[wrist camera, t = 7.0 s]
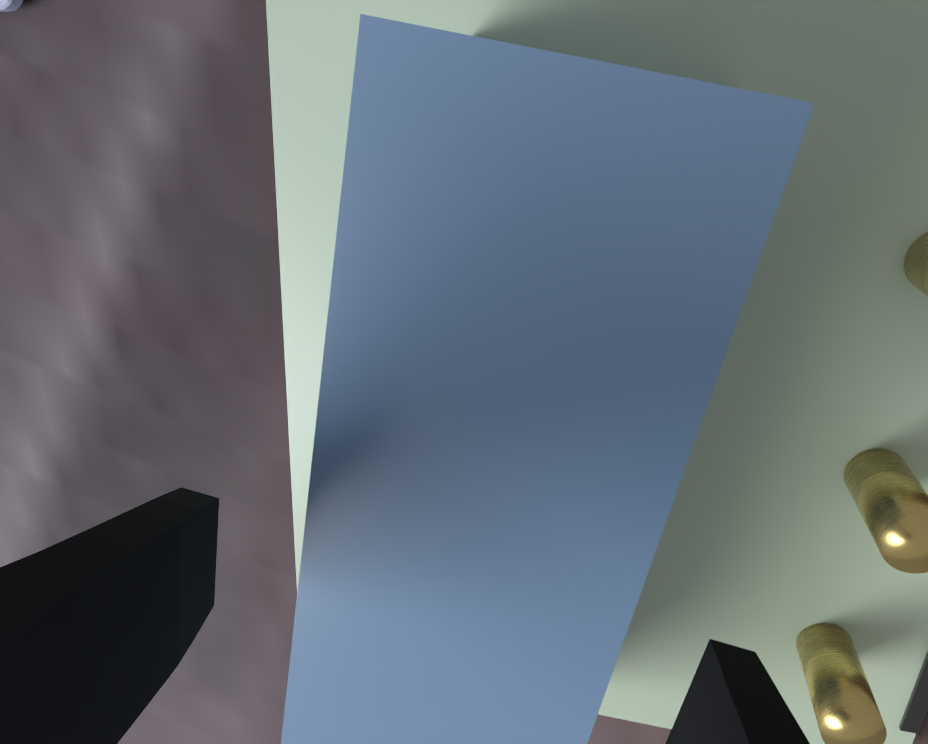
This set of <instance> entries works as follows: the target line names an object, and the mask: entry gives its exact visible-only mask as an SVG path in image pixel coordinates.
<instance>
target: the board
mask: <svg viewBox="0 0 928 744" xmlns="http://www.w3.org/2000/svg"><path fill="white" fill-rule="evenodd" d="M266 9H267V28H268V47H269V66H270V85H271V104H272V123H273V142H274V161H275V180H276V199H277V218H278V237H279V256H280V275H281V294H282V313H283V332H284V351H285V370H286V389H287V408H288V427H289V446H290V465H291V484H292V503H293V522H294V541H295V560H296V580H297V592H298V583H299V574H300V565H301V555H302V546H303V537H304V528H305V519H306V509H307V500H308V491H309V482H310V473H311V463H312V454H313V445H314V436H315V427H316V418H317V408H318V399H319V390H320V381H321V372H322V362H323V353H324V344H325V335H326V326H327V316H328V307H329V298H330V289H331V280H332V270H333V261H334V252H335V243H336V234H337V225H338V215H339V206H340V197H341V188H342V179H343V169H344V160H345V151H346V142H347V133H348V123H349V114H350V105H351V96H352V87H353V77H354V68H355V59H356V50H357V41H358V32H359V22H360V14H364V15H369V16H374V17H379V18H384V19H389V20H394V21H399V22H404V23H410V24H415V25H420V26H425V27H430V28H435V29H440V30H445V31H450V32H455V33H460V34H466V35H471V36H476V37H481V38H486V39H491V40H496V41H501V42H506V43H511V44H516V45H522V46H527V47H532V48H537V49H542V50H547V51H552V52H557V53H562V54H567V55H572V56H578V57H583V58H588V59H593V60H598V61H603V62H608V63H613V64H618V65H623V66H628V67H634V68H639V69H644V70H649V71H654V72H659V73H664V74H669V75H674V76H679V77H684V78H690V79H695V80H700V81H705V82H710V83H715V84H720V85H725V86H730V87H735V88H740V89H746V90H751V91H756V92H761V93H766V94H771V95H776V96H781V97H786V98H791V99H796V100H802V101H807V102H812V103H815V105H814V108H813V110H812V113H811V116H810V119H809V122H808V124H807V127H806V130H805V133H804V136H803V139H802V141H801V144H800V147H799V150H798V153H797V155H796V158H795V161H794V164H793V167H792V169H791V172H790V175H789V178H788V181H787V183H786V186H785V189H784V192H783V195H782V198H781V200H780V203H779V206H778V209H777V212H776V214H775V217H774V220H773V223H772V226H771V228H770V231H769V234H768V237H767V240H766V243H765V245H764V248H763V251H762V254H761V257H760V259H759V262H758V265H757V268H756V271H755V273H754V276H753V279H752V282H751V285H750V288H749V290H748V293H747V296H746V299H745V302H744V304H743V307H742V310H741V313H740V316H739V318H738V321H737V324H736V327H735V330H734V333H733V335H732V338H731V341H730V344H729V347H728V349H727V352H726V355H725V358H724V361H723V363H722V366H721V369H720V372H719V375H718V378H717V380H716V383H715V386H714V389H713V392H712V394H711V397H710V400H709V403H708V406H707V408H706V411H705V414H704V417H703V420H702V423H701V425H700V428H699V431H698V434H697V437H696V439H695V442H694V445H693V448H692V451H691V453H690V456H689V459H688V462H687V465H686V468H685V470H684V473H683V476H682V479H681V482H680V484H679V487H678V490H677V493H676V496H675V498H674V501H673V504H672V507H671V510H670V513H669V515H668V518H667V521H666V524H665V527H664V529H663V532H662V535H661V538H660V541H659V543H658V546H657V549H656V552H655V555H654V558H653V560H652V563H651V566H650V569H649V572H648V574H647V577H646V580H645V583H644V586H643V588H642V591H641V594H640V597H639V600H638V603H637V605H636V608H635V611H634V614H633V617H632V619H631V622H630V625H629V628H628V631H627V633H626V636H625V639H624V642H623V645H622V647H621V650H620V653H619V656H618V659H617V662H616V664H615V667H614V670H613V673H612V676H611V678H610V681H609V684H608V687H607V690H606V692H605V695H604V698H603V701H602V704H601V707H600V709H599V712H598V714H599V715H604V716H609V717H614V718H619V719H624V720H629V721H634V722H639V723H643V724H648V725H653V726H658V727H663V728H668V729H672V727H673V725H674V723H675V720H676V718H677V715H678V713H679V711H680V708H681V706H682V704H683V701H684V699H685V696H686V694H687V692H688V689H689V687H690V685H691V682H692V680H693V677H694V675H695V673H696V670H697V668H698V666H699V663H700V661H701V658H702V656H703V654H704V651H705V649H706V647H707V644H708V642H709V639H712V640H716V641H719V642H723V643H726V644H730V645H733V646H737V647H740V648H744V649H747V650H751V651H754V652H756V654H757V655H758V657H759V659H760V660H761V662H762V664H763V665H764V667H765V669H766V670H767V672H768V674H769V675H770V677H771V679H772V681H773V682H774V684H775V686H776V687H777V689H778V691H779V692H780V694H781V696H782V697H783V699H784V701H785V703H786V704H787V706H788V708H789V709H790V711H791V713H792V714H793V716H794V718H795V719H796V721H797V723H798V724H799V726H800V728H801V729H802V731H803V733H804V734H805V736H806V738H807V739H808V741H809V743H810V744H825V742H824V741H823V739H822V737H821V734H820V730H819V727H818V723H817V720H816V716H815V712H814V709H813V705H812V702H811V698H810V695H809V691H808V687H807V684H806V680H805V677H804V673H803V669H802V666H801V662H800V659H799V655H798V652H797V648H796V639H797V636H798V635H799V633H800V632H801V631H802V630H803V629H805V628H806V627H808V626H810V625H813V624H817V623H830V624H834V625H837V626H840V627H841V628H843V629H844V630H846V631H847V632H848V633H849V635H850V636H851V638H852V641H853V644H854V646H855V649H856V651H857V654H858V657H859V659H860V662H861V664H862V667H863V670H864V672H865V675H866V678H867V680H868V683H869V685H870V688H871V691H872V693H873V696H874V699H875V701H876V704H877V706H878V709H879V712H880V714H881V717H882V720H883V722H884V725H885V727H886V731H887V736H886V739H885V742H884V743H883V744H912V743H913V740H914V738H915V735H916V733H911V732H906V731H900V729H899V725H900V723H901V720H902V717H903V715H904V712H905V709H906V707H907V704H908V701H909V699H910V696H911V693H912V691H913V688H914V685H915V683H916V680H917V677H918V675H919V672H920V669H921V667H922V664H923V661H924V659H925V656H926V653H927V651H928V572H926V573H918V574H916V573H906V572H902V571H899V570H897V569H895V568H893V567H891V566H890V565H889V564H888V563H887V562H886V561H885V560H884V559H883V557H882V555H881V553H880V551H879V549H878V547H877V545H876V543H875V541H874V539H873V537H872V535H871V533H870V531H869V530H868V528H867V526H866V524H865V522H864V520H863V518H862V516H861V514H860V512H859V510H858V508H857V506H856V504H855V502H854V500H853V498H852V496H851V494H850V492H849V490H848V488H847V486H846V484H845V482H844V470H845V467H846V465H847V463H848V462H849V461H850V460H851V459H852V458H853V457H854V456H855V455H857V454H858V453H860V452H862V451H865V450H869V449H875V448H881V449H887V450H891V451H893V452H895V453H897V454H898V455H900V456H901V457H902V458H903V459H904V461H905V462H906V464H907V465H908V467H909V468H910V469H911V471H912V472H913V474H914V475H915V477H916V478H917V480H918V481H919V482H920V484H921V485H922V487H923V488H924V490H925V491H926V493H927V494H928V296H926V295H925V294H924V293H923V292H921V291H920V290H919V289H917V288H916V287H915V286H914V285H912V284H911V283H910V282H909V280H908V279H907V277H906V275H905V272H904V258H905V255H906V252H907V250H908V249H909V247H910V246H911V244H912V243H913V242H914V241H915V240H916V239H917V238H919V237H920V236H921V235H923V234H925V233H926V232H928V0H266Z"/></svg>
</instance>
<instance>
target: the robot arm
mask: <svg viewBox="0 0 928 744" xmlns="http://www.w3.org/2000/svg"><path fill="white" fill-rule="evenodd" d="M22 2H23V0H0V11H2V12H10V11H15V10H17V9H18V8H19V7H20V6H21V5H22ZM218 509H219V498H216V497H213V496H209V495H206V494H202V493H199V492H195V491H192V490H188V489H185V488H179V489H176V490H174V491H172V492H169V493H167V494H165V495H162V496H160V497H158V498H155V499H153V500H151V501H149V502H147V503H144V504H142V505H140V506H138V507H136V508H134V509H132V510H129V511H127V512H125V513H123V514H121V515H119V516H116V517H114V518H112V519H110V520H108V521H106V522H104V523H101V524H99V525H97V526H95V527H93V528H90V529H88V530H86V531H84V532H82V533H79V534H77V535H75V536H73V537H71V538H68V539H66V540H64V541H62V542H59V543H57V544H55V545H53V546H51V547H48V548H46V549H44V550H42V551H39V552H37V553H35V554H32V555H30V556H27V557H25V558H22V559H20V560H18V561H15V562H13V563H10V564H8V565H5V566H3V567H0V744H117V743H118V742H119V740H120V739H121V738H122V737H123V735H124V734H125V733H126V732H127V730H128V729H129V728H130V727H131V725H132V724H133V723H134V721H135V720H136V719H137V718H138V716H139V715H140V714H141V713H142V711H143V710H144V709H145V707H146V706H147V705H148V704H149V702H150V701H151V700H152V698H153V697H154V696H155V694H156V693H157V692H158V691H159V689H160V688H161V687H162V685H163V684H164V683H165V682H166V680H167V679H168V678H169V676H170V675H171V674H172V672H173V671H174V670H175V668H176V667H177V666H178V664H179V663H180V661H181V659H182V658H183V656H184V654H185V653H186V651H187V650H188V648H189V646H190V645H191V643H192V642H193V640H194V638H195V637H196V635H197V633H198V632H199V630H200V628H201V626H202V625H203V623H204V621H205V620H206V618H207V616H208V615H209V613H210V611H211V609H212V608H213V606H214V594H215V573H216V552H217V531H218ZM666 744H810V743H809V741H808V739H807V738H806V736H805V734H804V733H803V731H802V729H801V728H800V726H799V724H798V723H797V721H796V719H795V718H794V716H793V714H792V713H791V711H790V709H789V708H788V706H787V704H786V703H785V701H784V699H783V697H782V696H781V694H780V692H779V691H778V689H777V687H776V686H775V684H774V682H773V681H772V679H771V677H770V675H769V674H768V672H767V670H766V669H765V667H764V665H763V664H762V662H761V660H760V659H759V657H758V655H757V654H756V652H754V651H751V650H747V649H744V648H740V647H737V646H733V645H730V644H726V643H723V642H719V641H716V640H712V639H709V642H708V644H707V647H706V649H705V651H704V654H703V656H702V658H701V661H700V663H699V666H698V668H697V670H696V673H695V675H694V677H693V680H692V682H691V685H690V687H689V689H688V692H687V694H686V696H685V699H684V701H683V704H682V706H681V708H680V711H679V713H678V715H677V718H676V720H675V723H674V725H673V727H672V730H671V732H670V734H669V737H668V739H667V742H666Z"/></svg>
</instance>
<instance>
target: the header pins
mask: <svg viewBox="0 0 928 744" xmlns="http://www.w3.org/2000/svg"><path fill="white" fill-rule="evenodd" d="M904 272H905V275H906V277H907V279H908V280H909V282H910V283H911V284H912V285H914V286H915V287H916V288H917V289H919V290H920V291H921V292H923V293H924V294H925V295H926V296H928V232H926V233H925V234H923V235H921V236H920V237H919V238H917V239H916V240H915V241H914V242H913V243H912V244H911V246H910V247H909V249H908V250H907V252H906V255H905V258H904ZM844 482H845V484H846V486H847V488H848V490H849V492H850V494H851V496H852V498H853V500H854V502H855V504H856V506H857V508H858V510H859V512H860V514H861V516H862V518H863V520H864V522H865V524H866V526H867V528H868V530H869V531H870V533H871V535H872V537H873V539H874V541H875V543H876V545H877V547H878V549H879V551H880V553H881V555H882V557H883V559H884V560H885V561H886V562H887V563H888V564H889V565H890V566H891V567H893V568H895V569H897V570H899V571H902V572H906V573H916V574H918V573H926V572H928V494H927V493H926V491H925V490H924V488H923V487H922V485H921V484H920V482H919V481H918V480H917V478H916V477H915V475H914V474H913V472H912V471H911V469H910V468H909V467H908V465H907V464H906V462H905V461H904V459H903V458H902V457H901V456H900V455H898V454H897V453H895V452H893V451H891V450H887V449H881V448H875V449H869V450H865V451H862V452H860V453H858V454H857V455H855V456H854V457H853V458H852V459H851V460H850V461H849V462H848V463H847V465H846V467H845V470H844ZM796 648H797V652H798V655H799V659H800V662H801V666H802V669H803V673H804V677H805V680H806V684H807V687H808V691H809V695H810V698H811V702H812V705H813V709H814V712H815V716H816V720H817V723H818V727H819V730H820V734H821V737H822V739H823V741H824V742H825V744H883V743H884V742H885V739H886V736H887V731H886V727H885V725H884V722H883V720H882V717H881V714H880V712H879V709H878V706H877V704H876V701H875V699H874V696H873V693H872V691H871V688H870V685H869V683H868V680H867V678H866V675H865V672H864V670H863V667H862V664H861V662H860V659H859V657H858V654H857V651H856V649H855V646H854V644H853V641H852V638H851V636H850V635H849V633H848V632H847V631H846V630H844V629H843V628H841V627H840V626H837V625H834V624H830V623H817V624H813V625H810V626H808V627H806V628H805V629H803V630H802V631H801V632H800V633H799V635H798V636H797V639H796ZM927 712H928V651H927V653H926V656H925V659H924V661H923V664H922V667H921V669H920V672H919V675H918V677H917V680H916V683H915V685H914V688H913V691H912V693H911V696H910V699H909V701H908V704H907V707H906V709H905V712H904V715H903V717H902V720H901V723H900V725H899V729H900V731H906V732H911V733H916V734H919V732H920V730H921V727H922V725H923V722H924V720H925V717H926V714H927Z"/></svg>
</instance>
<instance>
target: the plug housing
mask: <svg viewBox="0 0 928 744" xmlns="http://www.w3.org/2000/svg"><path fill="white" fill-rule="evenodd" d="M814 105H815V103H812V102H807V101H802V100H796V99H791V98H786V97H781V96H776V95H771V94H766V93H761V92H756V91H751V90H746V89H740V88H735V87H730V86H725V85H720V84H715V83H710V82H705V81H700V80H695V79H690V78H684V77H679V76H674V75H669V74H664V73H659V72H654V71H649V70H644V69H639V68H634V67H628V66H623V65H618V64H613V63H608V62H603V61H598V60H593V59H588V58H583V57H578V56H572V55H567V54H562V53H557V52H552V51H547V50H542V49H537V48H532V47H527V46H522V45H516V44H511V43H506V42H501V41H496V40H491V39H486V38H481V37H476V36H471V35H466V34H460V33H455V32H450V31H445V30H440V29H435V28H430V27H425V26H420V25H415V24H410V23H404V22H399V21H394V20H389V19H384V18H379V17H374V16H369V15H364V14H360V22H359V32H358V41H357V50H356V59H355V68H354V77H353V87H352V96H351V105H350V114H349V123H348V133H347V142H346V151H345V160H344V169H343V179H342V188H341V197H340V206H339V215H338V225H337V234H336V243H335V252H334V261H333V270H332V280H331V289H330V298H329V307H328V316H327V326H326V335H325V344H324V353H323V362H322V372H321V381H320V390H319V399H318V408H317V418H316V427H315V436H314V445H313V454H312V463H311V473H310V482H309V491H308V500H307V509H306V519H305V528H304V537H303V546H302V555H301V565H300V574H299V583H298V592H297V601H296V611H295V620H294V629H293V638H292V647H291V656H290V666H289V675H288V684H287V693H286V702H285V712H284V721H283V730H282V739H281V744H587V743H588V740H589V737H590V735H591V732H592V729H593V726H594V723H595V721H596V718H597V715H598V712H599V709H600V707H601V704H602V701H603V698H604V695H605V692H606V690H607V687H608V684H609V681H610V678H611V676H612V673H613V670H614V667H615V664H616V662H617V659H618V656H619V653H620V650H621V647H622V645H623V642H624V639H625V636H626V633H627V631H628V628H629V625H630V622H631V619H632V617H633V614H634V611H635V608H636V605H637V603H638V600H639V597H640V594H641V591H642V588H643V586H644V583H645V580H646V577H647V574H648V572H649V569H650V566H651V563H652V560H653V558H654V555H655V552H656V549H657V546H658V543H659V541H660V538H661V535H662V532H663V529H664V527H665V524H666V521H667V518H668V515H669V513H670V510H671V507H672V504H673V501H674V498H675V496H676V493H677V490H678V487H679V484H680V482H681V479H682V476H683V473H684V470H685V468H686V465H687V462H688V459H689V456H690V453H691V451H692V448H693V445H694V442H695V439H696V437H697V434H698V431H699V428H700V425H701V423H702V420H703V417H704V414H705V411H706V408H707V406H708V403H709V400H710V397H711V394H712V392H713V389H714V386H715V383H716V380H717V378H718V375H719V372H720V369H721V366H722V363H723V361H724V358H725V355H726V352H727V349H728V347H729V344H730V341H731V338H732V335H733V333H734V330H735V327H736V324H737V321H738V318H739V316H740V313H741V310H742V307H743V304H744V302H745V299H746V296H747V293H748V290H749V288H750V285H751V282H752V279H753V276H754V273H755V271H756V268H757V265H758V262H759V259H760V257H761V254H762V251H763V248H764V245H765V243H766V240H767V237H768V234H769V231H770V228H771V226H772V223H773V220H774V217H775V214H776V212H777V209H778V206H779V203H780V200H781V198H782V195H783V192H784V189H785V186H786V183H787V181H788V178H789V175H790V172H791V169H792V167H793V164H794V161H795V158H796V155H797V153H798V150H799V147H800V144H801V141H802V139H803V136H804V133H805V130H806V127H807V124H808V122H809V119H810V116H811V113H812V110H813V108H814Z"/></svg>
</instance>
